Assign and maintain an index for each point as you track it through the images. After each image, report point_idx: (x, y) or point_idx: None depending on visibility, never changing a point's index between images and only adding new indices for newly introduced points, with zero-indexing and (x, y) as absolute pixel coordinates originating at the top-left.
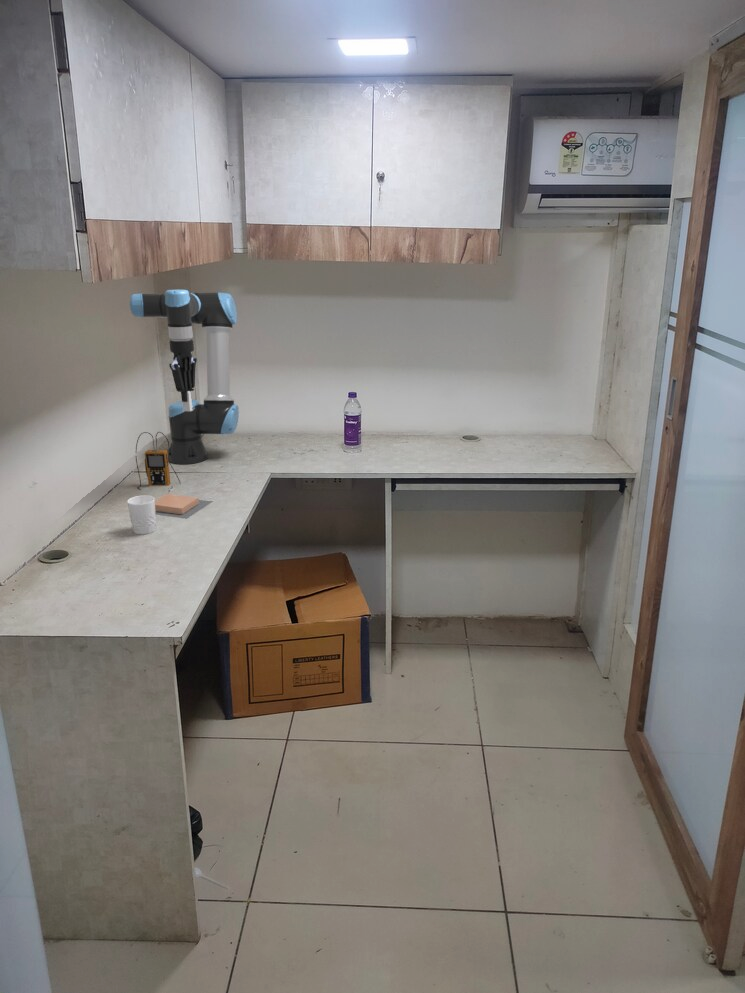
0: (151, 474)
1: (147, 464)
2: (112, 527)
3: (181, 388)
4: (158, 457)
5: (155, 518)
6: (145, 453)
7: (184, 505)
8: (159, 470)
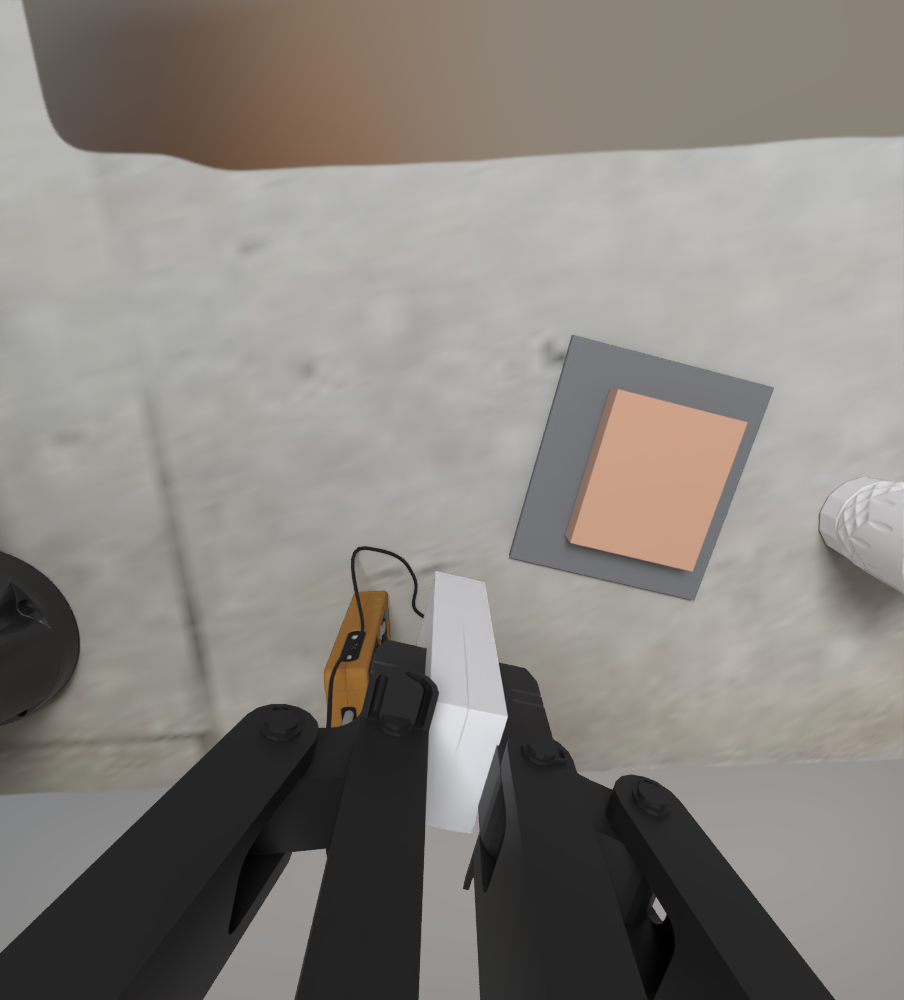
0: None
1: None
2: (820, 636)
3: (702, 850)
4: None
5: (893, 483)
6: None
7: (713, 421)
8: None
